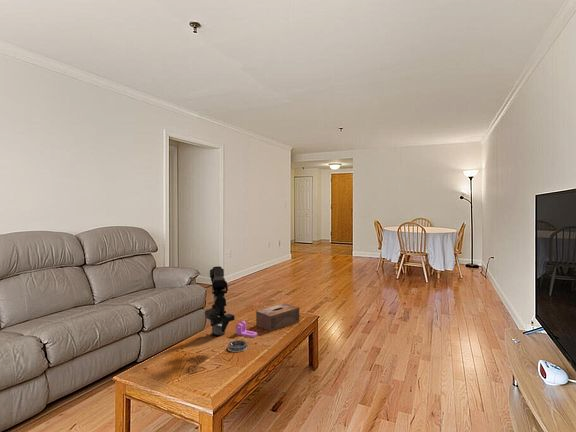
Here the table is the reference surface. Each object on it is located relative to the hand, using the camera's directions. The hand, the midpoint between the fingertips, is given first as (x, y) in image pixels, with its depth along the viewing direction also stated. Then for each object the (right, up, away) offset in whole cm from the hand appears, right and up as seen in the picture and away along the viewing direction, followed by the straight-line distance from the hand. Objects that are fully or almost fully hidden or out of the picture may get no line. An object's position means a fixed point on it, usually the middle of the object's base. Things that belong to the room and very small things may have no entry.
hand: (219, 330), depth 181 cm
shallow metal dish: (+9, -11, +4) cm, 15 cm away
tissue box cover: (+31, -10, +42) cm, 53 cm away
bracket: (+12, -11, +23) cm, 28 cm away
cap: (0, -1, 0) cm, 1 cm away
